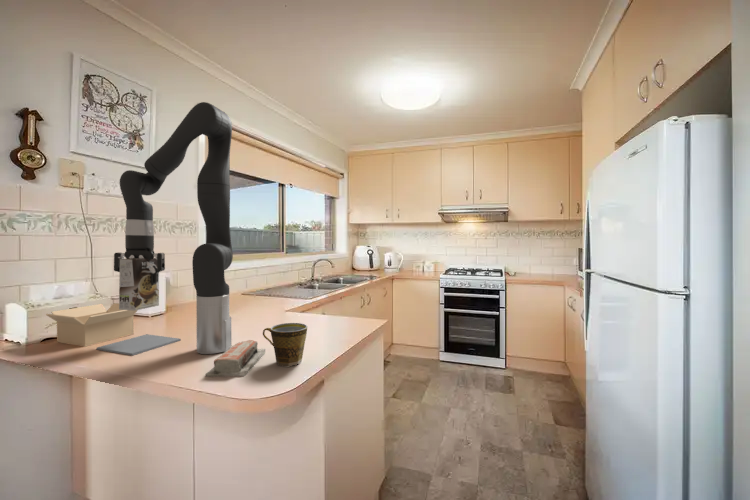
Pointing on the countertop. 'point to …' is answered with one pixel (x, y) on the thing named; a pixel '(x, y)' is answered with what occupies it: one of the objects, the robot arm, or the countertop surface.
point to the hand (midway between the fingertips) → (139, 284)
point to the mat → (138, 344)
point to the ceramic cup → (288, 342)
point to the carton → (92, 324)
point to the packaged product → (237, 360)
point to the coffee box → (137, 285)
